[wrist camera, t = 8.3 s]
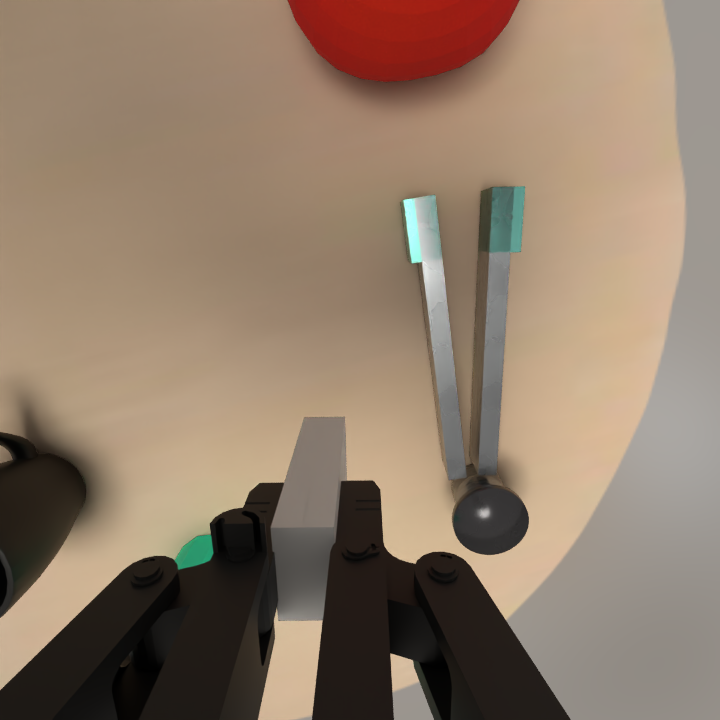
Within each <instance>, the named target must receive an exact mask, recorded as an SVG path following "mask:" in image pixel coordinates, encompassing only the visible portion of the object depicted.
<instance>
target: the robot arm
mask: <svg viewBox="0 0 720 720" xmlns="http://www.w3.org/2000/svg"><path fill="white" fill-rule="evenodd" d="M210 530H211V538H212V546H213V555H212V557H211V559H210V561H208V562H205V563H203V564H199V565H196V566H192V567H188V568H183V569H179V570H178V565H177V563H176V562H175V561H174V560H173V559H172V558H169V557H166V556H152V557H148V558H143V559H141V560H139V561H137V562H135V563H132V564H131V565H130V566H128V567H127V568H126V569H124V570H123V571H122V572H121V573H120V574H119V575H118V576H117V577H116V578H115V579H114V580H113V581H112V582H111V583H110V584H109V585H108V586H107V587H106V588H105V589H104V590H103V591H102V592H101V593H99V594H98V595H97V596H96V597H95V598H94V599H93V600H92V601H91V602H90V603H89V604H88V605H87V606H86V607H85V608H84V609H83V610H82V611H81V612H80V613H79V614H78V615H77V616H76V617H75V618H74V619H73V620H72V621H71V622H70V623H69V624H68V625H67V626H66V627H65V628H64V629H63V630H62V631H61V632H60V633H59V634H57V635H56V636H55V637H54V638H53V639H52V640H51V641H50V642H49V643H48V644H47V645H46V646H45V647H44V648H43V649H42V650H41V651H40V652H39V653H38V654H37V655H36V656H35V657H34V658H33V659H32V660H31V661H30V662H29V663H28V664H27V665H26V666H25V667H24V668H23V669H22V670H21V671H20V672H19V673H18V674H17V675H15V676H14V677H13V678H12V679H11V680H10V681H9V682H8V683H7V684H6V685H5V686H4V687H3V688H2V689H1V690H0V720H258V716H259V711H260V706H261V702H262V697H263V692H264V687H265V683H266V678H267V673H268V668H269V664H270V659H271V654H272V650H273V645H274V640H275V630H274V617H275V613H276V608H277V611H278V621H304V620H323V623H322V632H321V642H320V651H319V660H318V669H317V678H316V688H315V697H314V706H313V715H312V720H394V716H393V697H392V678H391V660H390V653H392V654H395V655H398V656H401V657H405V658H408V659H411V660H413V662H414V668H415V670H416V673H417V676H418V678H419V681H420V684H421V686H422V689H423V691H424V694H425V697H426V699H427V702H428V705H429V707H430V710H431V713H432V715H433V718H434V720H570V718H569V716H568V715H567V713H566V712H565V710H564V709H563V707H562V706H561V704H560V703H559V701H558V700H557V698H556V697H555V695H554V693H553V692H552V691H551V689H550V687H549V686H548V684H547V683H546V681H545V680H544V678H543V677H542V675H541V674H540V672H539V671H538V669H537V667H536V666H535V664H534V663H533V661H532V660H531V658H530V657H529V655H528V654H527V652H526V651H525V649H524V648H523V646H522V645H521V643H520V641H519V640H518V639H517V637H516V635H515V634H514V632H513V631H512V629H511V628H510V626H509V625H508V623H507V622H506V620H505V618H504V617H503V615H502V614H501V612H500V611H499V609H498V608H497V606H496V605H495V603H494V602H493V600H492V599H491V597H490V596H489V594H488V592H487V591H486V589H485V588H484V586H483V585H482V583H481V582H480V580H479V579H478V577H477V576H476V574H475V573H474V571H473V570H472V568H471V566H470V565H469V564H468V563H467V562H466V561H465V560H464V559H462V558H461V557H459V556H457V555H455V554H451V553H447V552H432V553H429V554H426V555H423V556H422V557H421V558H420V559H418V560H417V562H416V564H413V563H409V562H405V561H402V560H399V559H397V558H396V557H394V556H392V555H391V554H390V553H389V552H388V551H387V550H386V548H385V547H384V543H383V530H382V512H381V494H380V489H379V487H378V486H377V485H376V484H375V482H374V481H347V466H346V433H345V417H304V420H303V423H302V426H301V430H300V433H299V436H298V440H297V443H296V446H295V449H294V453H293V456H292V459H291V462H290V466H289V469H288V472H287V476H286V479H285V482H284V483H259V484H258V485H257V486H256V487H255V488H254V489H253V490H251V491H250V492H249V495H248V497H247V500H246V502H245V505H244V507H243V508H237V509H232V510H229V511H226V512H223V513H221V514H220V515H218V516H217V517H215V518H214V519H213V521H212V522H211V523H210Z"/></svg>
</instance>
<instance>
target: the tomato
mask: <svg viewBox="0 0 720 720" xmlns="http://www.w3.org/2000/svg"><path fill="white" fill-rule="evenodd" d="M288 2H289V5H290V7H291V10H292V13H293V15H294V18H295V20H296V22H297V24H298V25H299V27H300V28H301V30H302V31H303V33H304V34H305V36H306V37H307V38H308V40H309V41H310V43H311V44H312V46H313V47H314V48H315V50H316V51H317V53H318V54H319V55H321V56H322V57H323V58H324V59H326V60H327V61H328V62H329V63H330V64H332V65H333V66H334V67H335V68H337V69H338V70H340V71H343V72H346V73H348V74H351V75H353V76H356V77H358V78H361V79H368V80H376V81H383V82H389V81H404V80H413V79H418V78H423V77H428V76H433V75H437V74H440V73H443V72H446V71H449V70H453V69H456V68H459V67H461V66H463V65H464V64H466V63H468V62H469V61H471V60H472V59H474V58H476V57H477V56H479V55H481V54H482V53H484V51H485V50H486V49H487V48H488V47H489V46H490V44H491V43H492V42H493V41H494V40H495V39H496V37H497V36H498V35H499V34H500V33H501V32H502V30H503V29H504V28H505V26H506V25H507V24H508V22H509V20H510V18H511V16H512V14H513V12H514V10H515V8H516V6H517V4H518V2H519V0H288Z"/></svg>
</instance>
